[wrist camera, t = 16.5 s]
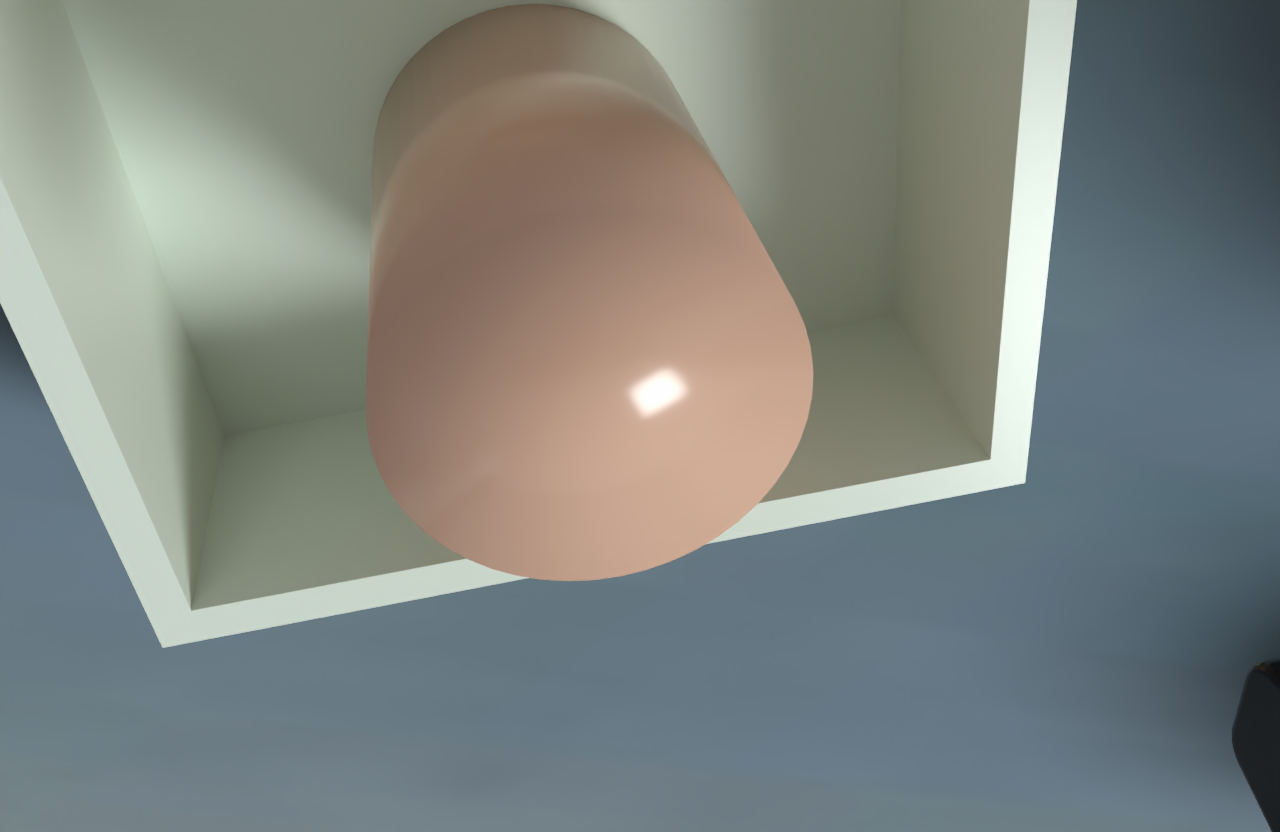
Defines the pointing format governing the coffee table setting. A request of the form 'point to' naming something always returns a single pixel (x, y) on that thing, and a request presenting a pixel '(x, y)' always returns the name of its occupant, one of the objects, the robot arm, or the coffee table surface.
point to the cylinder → (568, 307)
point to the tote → (340, 262)
